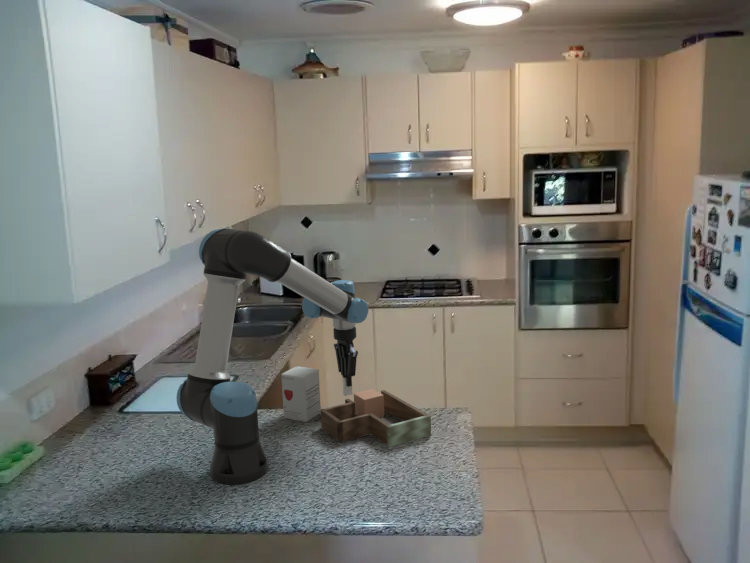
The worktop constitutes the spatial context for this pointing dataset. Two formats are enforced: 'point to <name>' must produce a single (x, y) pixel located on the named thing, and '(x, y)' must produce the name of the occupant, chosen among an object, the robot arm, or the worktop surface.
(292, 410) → the supplement box
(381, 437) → the low walled maze tray
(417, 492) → the worktop surface
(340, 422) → the frame
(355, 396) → the block
